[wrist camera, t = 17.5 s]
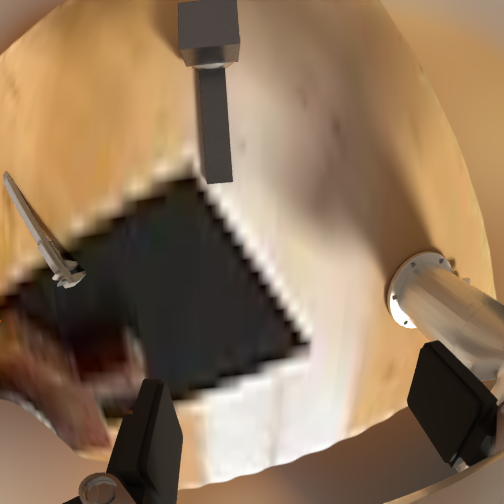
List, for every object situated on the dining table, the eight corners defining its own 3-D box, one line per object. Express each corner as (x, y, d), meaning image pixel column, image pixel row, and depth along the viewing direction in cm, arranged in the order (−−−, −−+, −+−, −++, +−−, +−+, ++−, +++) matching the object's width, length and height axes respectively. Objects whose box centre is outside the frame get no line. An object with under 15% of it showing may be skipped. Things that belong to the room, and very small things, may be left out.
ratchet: (237, 22, 31) (239, 5, 27) (249, 179, 37) (252, 182, 33) (182, 27, 31) (177, 11, 26) (191, 184, 37) (186, 188, 32)
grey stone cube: (234, 20, 30) (236, -3, 24) (238, 61, 31) (240, 44, 26) (184, 24, 29) (178, 3, 24) (186, 66, 31) (179, 50, 25)
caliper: (88, 272, 39) (69, 289, 33) (83, 277, 40) (64, 294, 34) (7, 171, 34) (-18, 174, 28) (4, 176, 34) (-22, 180, 28)
